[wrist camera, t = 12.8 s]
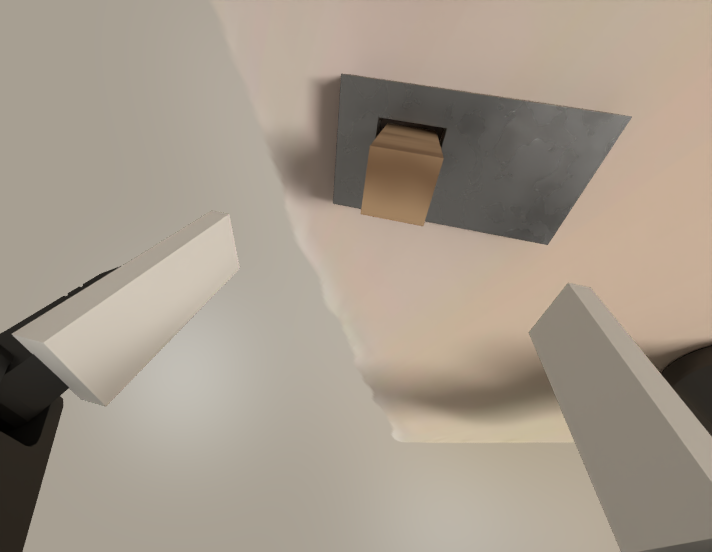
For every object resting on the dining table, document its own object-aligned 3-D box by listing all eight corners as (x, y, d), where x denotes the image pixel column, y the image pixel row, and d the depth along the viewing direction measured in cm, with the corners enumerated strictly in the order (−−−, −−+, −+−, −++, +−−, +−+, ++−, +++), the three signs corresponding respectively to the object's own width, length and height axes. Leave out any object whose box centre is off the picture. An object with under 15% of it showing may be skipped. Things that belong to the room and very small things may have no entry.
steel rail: (538, 232, 31) (547, 244, 28) (339, 194, 33) (333, 203, 30) (610, 112, 23) (632, 116, 21) (348, 74, 25) (341, 73, 23)
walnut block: (422, 180, 30) (423, 226, 20) (379, 172, 30) (360, 214, 21) (436, 130, 27) (443, 158, 17) (387, 122, 27) (369, 145, 18)
